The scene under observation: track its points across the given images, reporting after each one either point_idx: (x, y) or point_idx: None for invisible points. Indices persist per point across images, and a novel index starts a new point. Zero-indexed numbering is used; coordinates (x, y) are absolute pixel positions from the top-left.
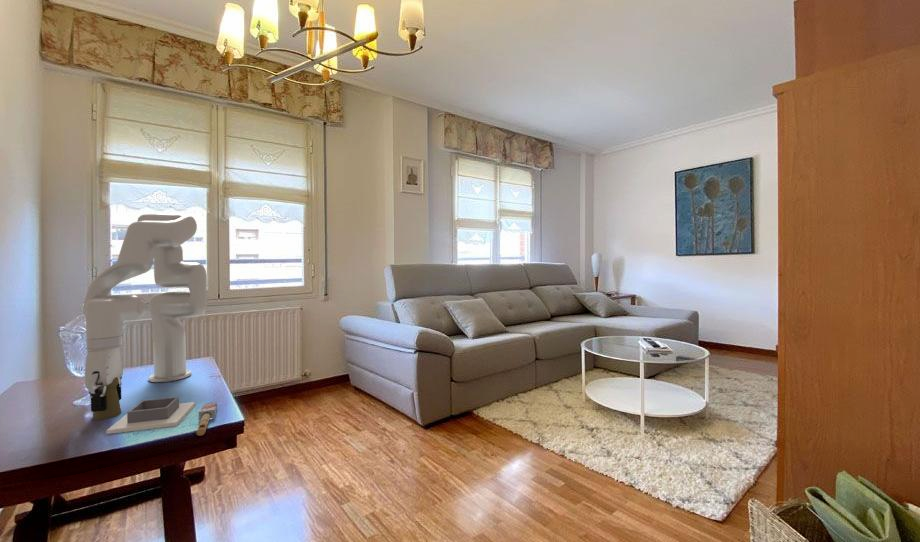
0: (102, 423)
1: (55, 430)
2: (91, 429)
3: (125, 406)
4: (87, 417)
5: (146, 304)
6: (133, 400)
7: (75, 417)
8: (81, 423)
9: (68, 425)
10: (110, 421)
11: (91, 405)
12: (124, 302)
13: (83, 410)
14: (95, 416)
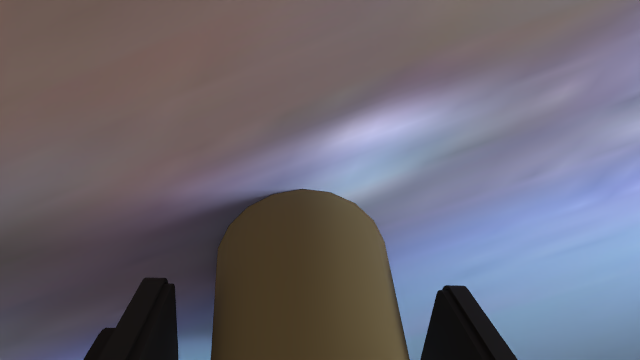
0: (121, 301)
1: (37, 19)
2: (7, 281)
3: None
4: (310, 150)
5: None
6: (578, 312)
7: (356, 48)
8: (167, 163)
9: (147, 78)
10: None
11: (118, 325)
12: None
13: (540, 38)
14: (226, 240)
